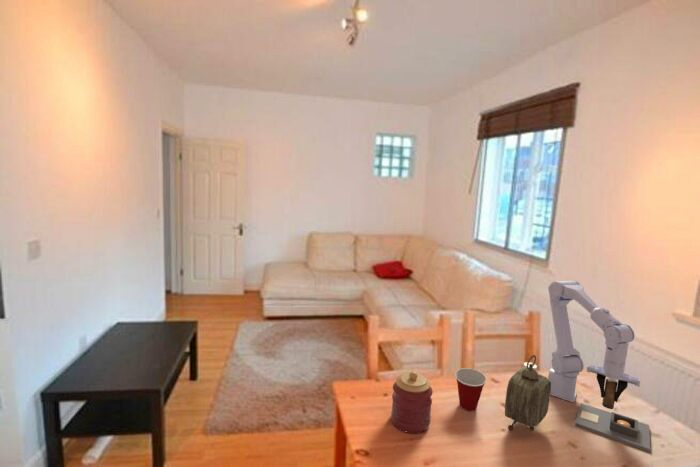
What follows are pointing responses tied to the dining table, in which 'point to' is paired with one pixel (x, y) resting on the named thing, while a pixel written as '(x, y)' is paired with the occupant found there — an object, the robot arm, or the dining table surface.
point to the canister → (411, 402)
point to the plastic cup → (469, 387)
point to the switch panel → (614, 426)
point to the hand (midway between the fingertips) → (609, 398)
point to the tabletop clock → (527, 397)
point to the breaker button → (623, 423)
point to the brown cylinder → (609, 393)
